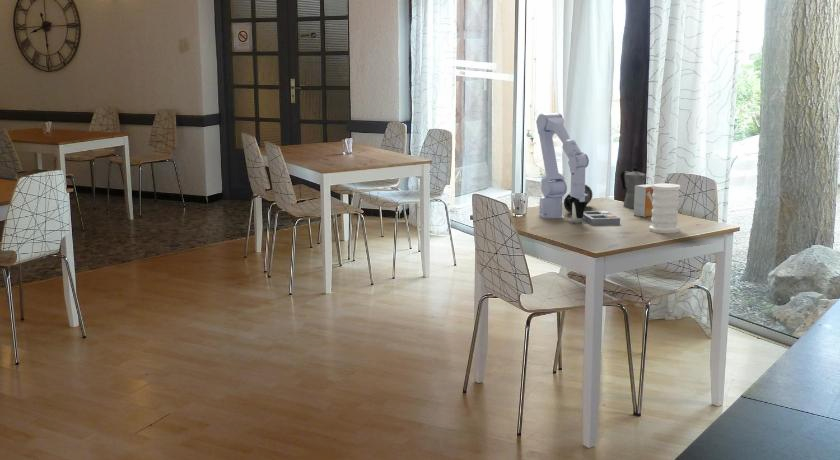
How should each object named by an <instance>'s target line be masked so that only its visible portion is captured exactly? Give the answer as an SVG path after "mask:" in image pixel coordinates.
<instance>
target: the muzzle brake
mask: <svg viewBox="0 0 840 460" xmlns="http://www.w3.org/2000/svg"><path fill="white" fill-rule="evenodd" d="M570 193H571V191H570V192H569V193H568V194H567V195H566V196H565V198H564V199H563V200H564V201H563V206H564V208H565V210H566V212H568V213H569V214H572V213H571V208H570V204H569V201H568V199H567V198H571V196H570ZM585 194H588V196H585V201H587V202H588V204H589V203H590V202H591V201H592V198H593V194H594V193H593V190H592V188H591V187H590V186H589V185H587V184H585Z"/></svg>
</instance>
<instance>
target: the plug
mask: <svg viewBox="0 0 840 460" xmlns="http://www.w3.org/2000/svg"><path fill="white" fill-rule="evenodd" d="M571 221H572V223H582V218H577V216H576V208H575V205H574V203H572V213H571Z"/></svg>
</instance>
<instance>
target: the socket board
mask: <svg viewBox="0 0 840 460" xmlns="http://www.w3.org/2000/svg"><path fill="white" fill-rule="evenodd" d="M582 220H583V221H584V222H586V223H587V224H589V225H590V226H604V225H605V226H610V225H611V226H612V225H616V226H617V225H621V218H620V217H618V216H617V215H615V214H613V213H612V212H610V211H608V210H584V213H583V217H582Z"/></svg>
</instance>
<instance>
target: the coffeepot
mask: <svg viewBox="0 0 840 460" xmlns="http://www.w3.org/2000/svg"><path fill="white" fill-rule="evenodd" d="M619 177H620V180H621V186H622V189H624V190H626V193H625V195H624V196H625V197H624V202H623V208H626V209H634V195H635V186H638V185H645V181H646V178H647V177H648V176H647V174H646V173H643V172H640V171H638V167H636V166H635V167H633V171H626V170H622V172H621V173H620V176H619Z"/></svg>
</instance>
